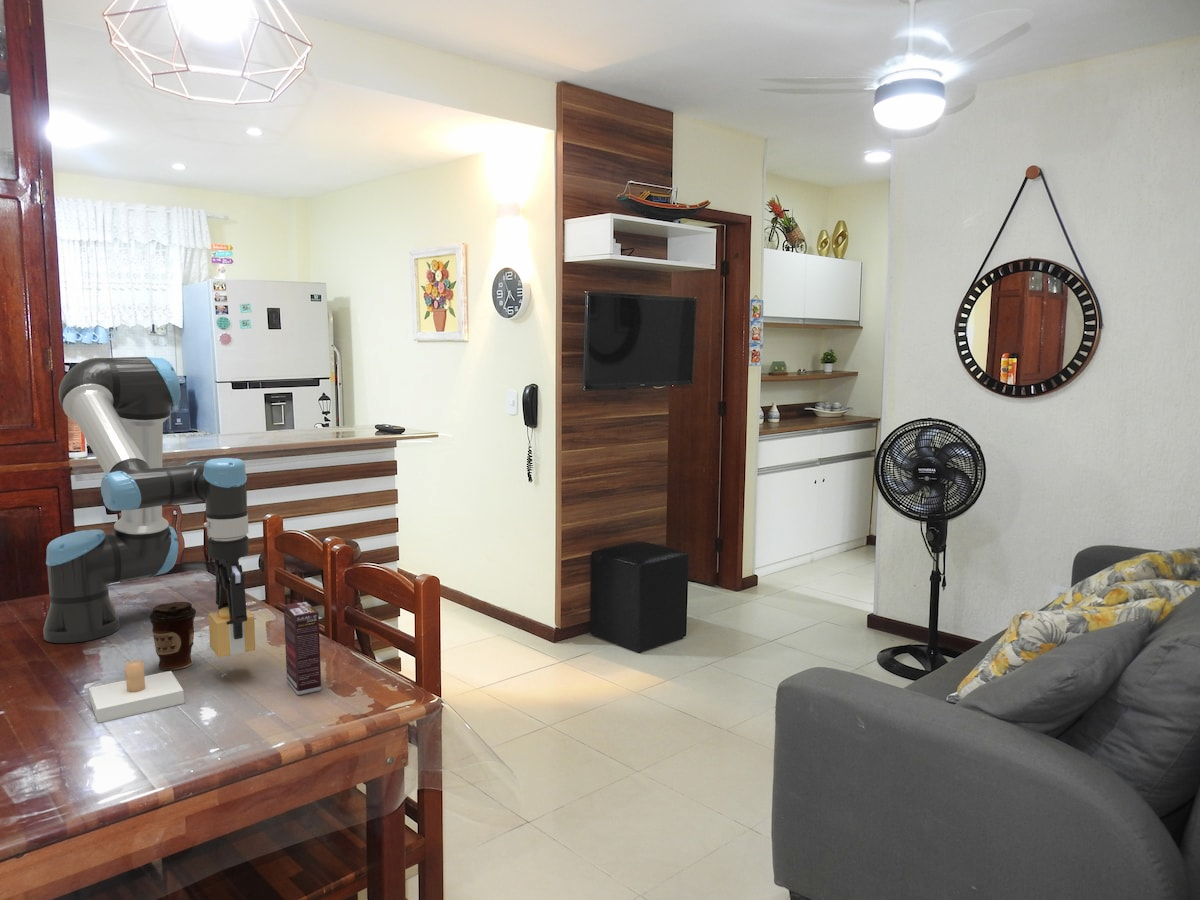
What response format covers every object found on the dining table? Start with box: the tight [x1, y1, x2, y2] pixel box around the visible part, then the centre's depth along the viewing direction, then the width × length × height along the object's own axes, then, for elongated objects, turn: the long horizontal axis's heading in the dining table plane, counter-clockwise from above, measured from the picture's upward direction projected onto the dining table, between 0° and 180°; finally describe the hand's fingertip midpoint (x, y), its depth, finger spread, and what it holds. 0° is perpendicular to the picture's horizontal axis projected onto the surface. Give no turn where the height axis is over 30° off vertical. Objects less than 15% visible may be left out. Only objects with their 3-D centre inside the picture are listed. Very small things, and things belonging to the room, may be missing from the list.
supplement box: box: [283, 601, 322, 696], centre depth 164 cm, size 9×5×16 cm, turn 34°
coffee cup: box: [149, 601, 197, 671], centre depth 175 cm, size 9×8×13 cm
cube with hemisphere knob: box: [208, 607, 256, 659], centre depth 169 cm, size 7×7×8 cm
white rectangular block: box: [88, 660, 185, 724], centre depth 157 cm, size 12×14×8 cm
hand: (232, 646), depth 170 cm, fingers closed on cube with hemisphere knob, 7 cm apart
